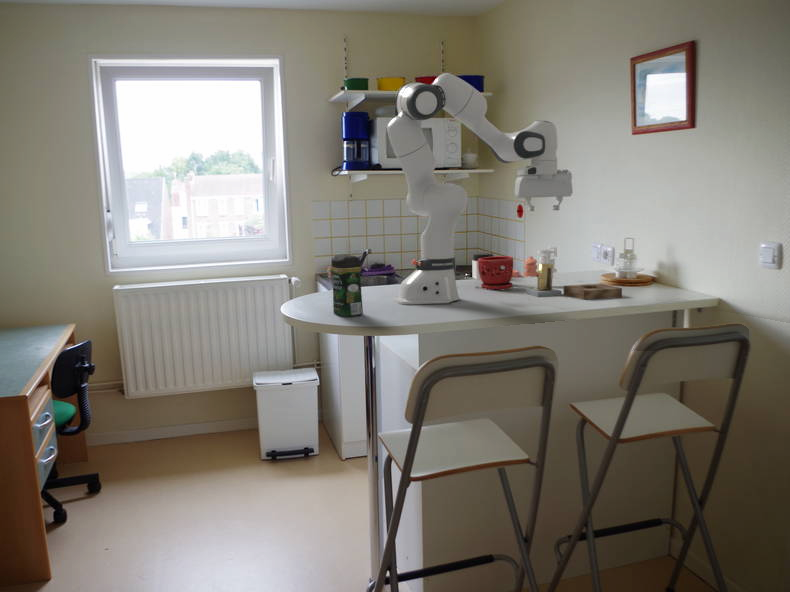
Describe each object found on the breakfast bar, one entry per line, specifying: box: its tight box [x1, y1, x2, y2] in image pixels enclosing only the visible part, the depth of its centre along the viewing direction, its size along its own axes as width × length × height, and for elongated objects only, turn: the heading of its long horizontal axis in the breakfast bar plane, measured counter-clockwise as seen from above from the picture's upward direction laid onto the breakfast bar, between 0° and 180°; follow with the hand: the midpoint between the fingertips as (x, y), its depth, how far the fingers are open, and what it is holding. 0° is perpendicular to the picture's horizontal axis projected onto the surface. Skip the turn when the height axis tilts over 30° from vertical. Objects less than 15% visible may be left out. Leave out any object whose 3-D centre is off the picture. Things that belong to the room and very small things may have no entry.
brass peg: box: [536, 262, 554, 291], centre depth 236 cm, size 5×5×9 cm
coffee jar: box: [330, 254, 364, 318], centre depth 205 cm, size 10×8×19 cm
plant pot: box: [478, 255, 514, 290], centre depth 253 cm, size 13×13×12 cm
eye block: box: [563, 283, 623, 301], centre depth 230 cm, size 14×14×3 cm
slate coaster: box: [526, 287, 563, 298], centre depth 237 cm, size 9×9×2 cm
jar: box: [471, 252, 495, 280], centre depth 271 cm, size 9×8×12 cm
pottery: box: [507, 256, 538, 278], centre depth 277 cm, size 18×10×10 cm, turn 90°
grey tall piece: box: [537, 246, 558, 274], centre depth 255 cm, size 7×7×15 cm
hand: (543, 210), depth 233 cm, fingers open, 8 cm apart
